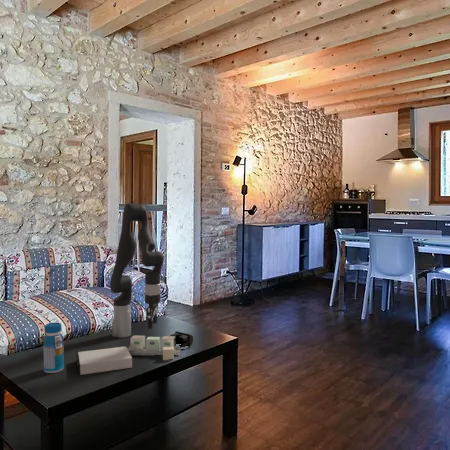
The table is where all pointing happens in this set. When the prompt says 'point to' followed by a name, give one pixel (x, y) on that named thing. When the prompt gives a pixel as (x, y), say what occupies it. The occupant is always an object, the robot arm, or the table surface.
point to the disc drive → (103, 360)
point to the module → (153, 343)
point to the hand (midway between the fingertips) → (152, 325)
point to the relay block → (168, 353)
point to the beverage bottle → (53, 348)
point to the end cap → (183, 339)
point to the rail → (140, 349)
